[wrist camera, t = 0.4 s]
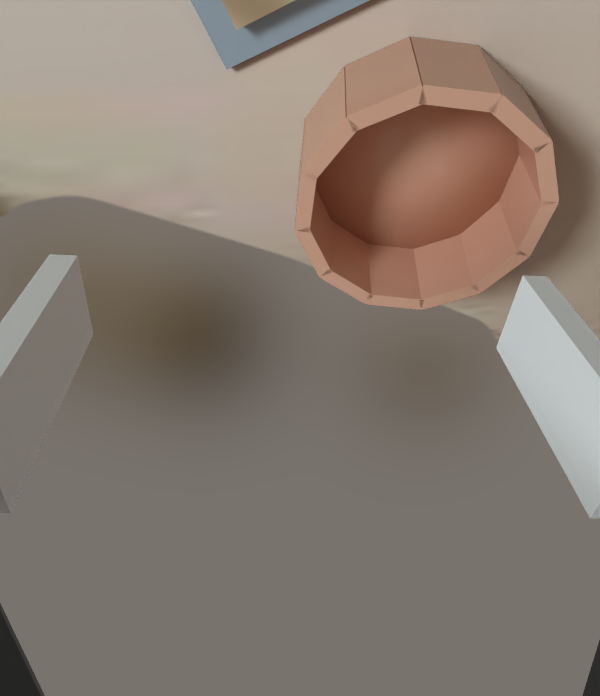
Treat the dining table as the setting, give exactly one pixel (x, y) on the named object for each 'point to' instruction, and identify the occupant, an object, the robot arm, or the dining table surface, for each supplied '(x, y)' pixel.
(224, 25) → the slate mat
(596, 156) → the dining table surface
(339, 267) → the terracotta bowl
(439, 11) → the dining table surface
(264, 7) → the oak lid
